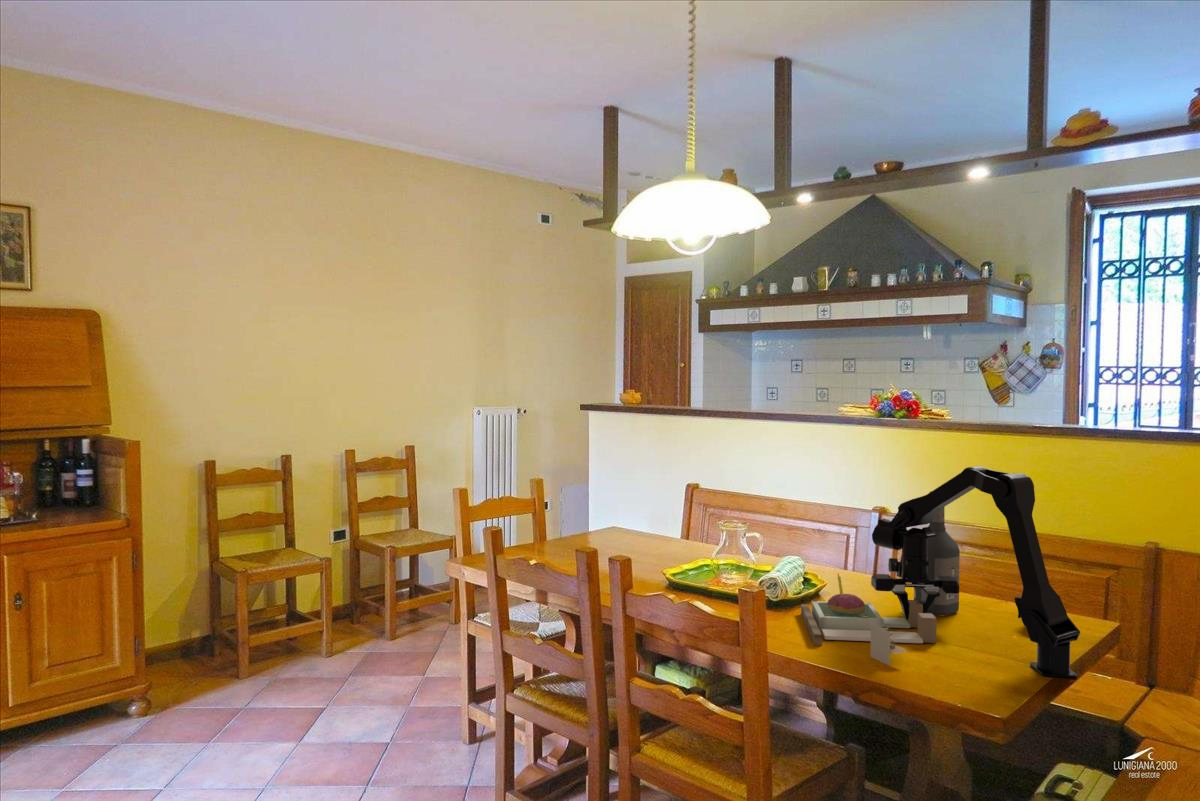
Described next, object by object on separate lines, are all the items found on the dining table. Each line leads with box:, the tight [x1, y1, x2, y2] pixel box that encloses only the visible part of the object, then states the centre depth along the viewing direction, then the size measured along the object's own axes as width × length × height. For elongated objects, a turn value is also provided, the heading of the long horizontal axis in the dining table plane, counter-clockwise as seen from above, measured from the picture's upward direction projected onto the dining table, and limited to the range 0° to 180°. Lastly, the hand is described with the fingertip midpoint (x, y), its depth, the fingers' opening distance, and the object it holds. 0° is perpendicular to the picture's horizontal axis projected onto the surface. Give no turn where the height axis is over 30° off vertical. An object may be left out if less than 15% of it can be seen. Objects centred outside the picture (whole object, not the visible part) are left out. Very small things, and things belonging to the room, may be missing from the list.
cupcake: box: [827, 573, 865, 617], centre depth 186 cm, size 9×8×12 cm
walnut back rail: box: [800, 603, 823, 647], centre depth 182 cm, size 23×2×2 cm, turn 173°
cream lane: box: [821, 613, 937, 644], centre depth 175 cm, size 5×24×6 cm, turn 83°
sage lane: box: [811, 599, 923, 631], centre depth 186 cm, size 13×24×6 cm, turn 83°
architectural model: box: [870, 624, 908, 666], centre depth 162 cm, size 3×7×7 cm, turn 21°
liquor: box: [913, 490, 961, 617], centre depth 197 cm, size 9×9×30 cm
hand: (914, 619), depth 184 cm, fingers closed on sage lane, 3 cm apart
